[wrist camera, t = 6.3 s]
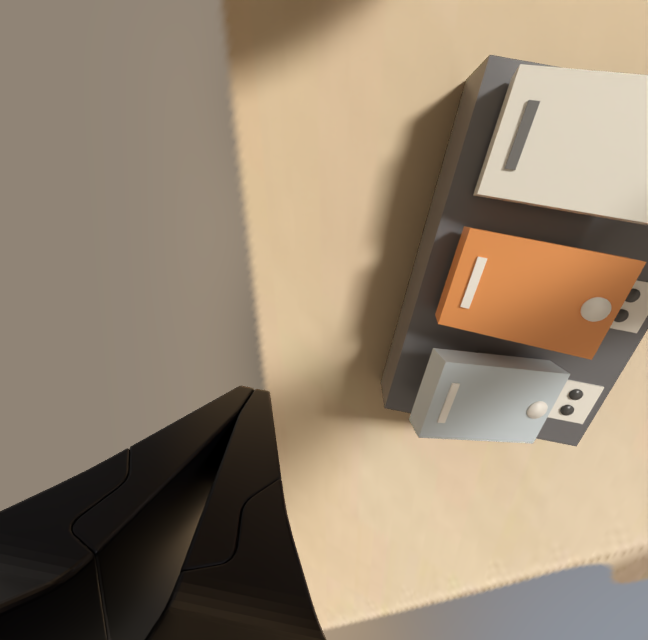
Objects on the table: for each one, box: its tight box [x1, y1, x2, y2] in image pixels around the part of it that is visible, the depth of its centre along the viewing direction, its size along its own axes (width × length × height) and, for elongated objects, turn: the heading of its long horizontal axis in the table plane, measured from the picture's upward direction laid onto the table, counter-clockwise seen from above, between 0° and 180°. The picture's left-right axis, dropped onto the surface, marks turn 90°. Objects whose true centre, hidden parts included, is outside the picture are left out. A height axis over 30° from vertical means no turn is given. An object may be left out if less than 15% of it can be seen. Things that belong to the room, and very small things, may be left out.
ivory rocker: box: [473, 64, 648, 225], centre depth 13 cm, size 7×5×2 cm, turn 80°
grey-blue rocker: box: [409, 348, 570, 443], centre depth 17 cm, size 7×5×2 cm, turn 80°
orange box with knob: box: [435, 226, 646, 360], centre depth 15 cm, size 7×5×2 cm, turn 80°
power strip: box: [381, 55, 648, 446], centre depth 17 cm, size 12×18×4 cm, turn 170°
